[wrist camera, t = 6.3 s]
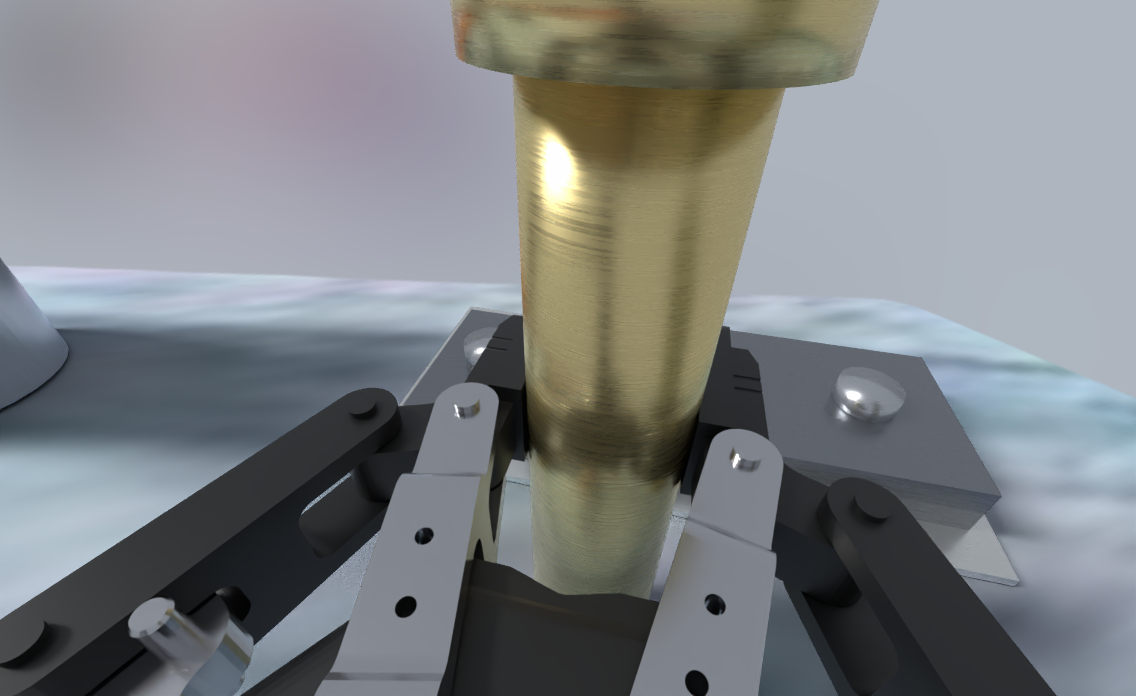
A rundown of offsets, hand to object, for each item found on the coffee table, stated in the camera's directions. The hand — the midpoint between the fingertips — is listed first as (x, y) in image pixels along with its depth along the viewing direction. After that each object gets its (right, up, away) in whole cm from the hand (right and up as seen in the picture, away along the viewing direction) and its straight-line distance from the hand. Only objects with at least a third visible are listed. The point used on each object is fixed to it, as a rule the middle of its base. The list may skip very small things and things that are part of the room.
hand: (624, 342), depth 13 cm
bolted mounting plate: (+4, -4, +13) cm, 14 cm away
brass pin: (-1, -10, +5) cm, 11 cm away
